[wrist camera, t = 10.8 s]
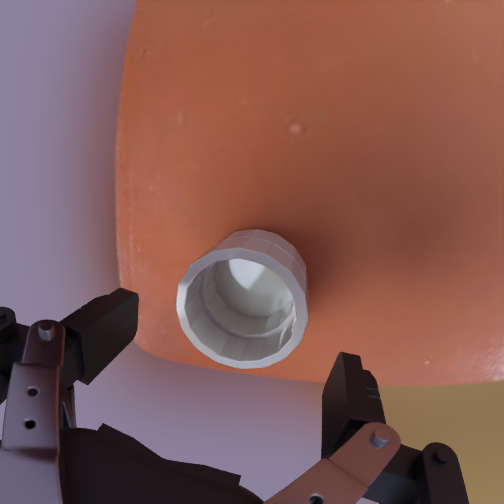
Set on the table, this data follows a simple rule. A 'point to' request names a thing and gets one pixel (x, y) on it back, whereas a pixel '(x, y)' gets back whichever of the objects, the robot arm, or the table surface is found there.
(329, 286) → the table surface
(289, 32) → the table surface
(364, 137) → the table surface
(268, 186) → the table surface
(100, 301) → the robot arm
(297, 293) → the white round cup
